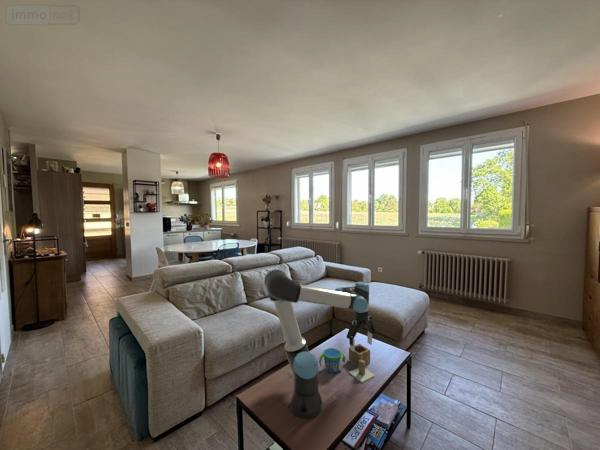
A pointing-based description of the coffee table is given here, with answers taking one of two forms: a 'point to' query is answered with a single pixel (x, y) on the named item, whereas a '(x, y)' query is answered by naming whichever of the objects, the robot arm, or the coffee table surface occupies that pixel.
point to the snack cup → (332, 359)
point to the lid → (361, 372)
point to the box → (359, 355)
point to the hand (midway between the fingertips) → (361, 347)
